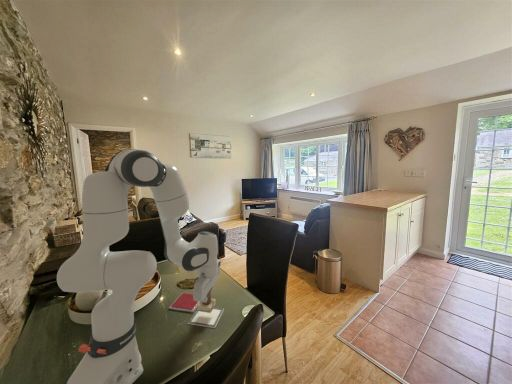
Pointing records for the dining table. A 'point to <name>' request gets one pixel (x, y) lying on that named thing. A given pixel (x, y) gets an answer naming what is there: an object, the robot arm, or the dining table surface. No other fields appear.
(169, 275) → the dining table surface
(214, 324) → the sheet
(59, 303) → the dining table surface
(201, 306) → the stamp
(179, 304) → the ink pad
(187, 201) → the robot arm
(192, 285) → the seal
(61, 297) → the dining table surface
